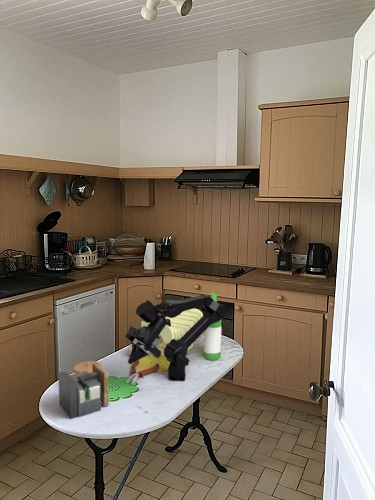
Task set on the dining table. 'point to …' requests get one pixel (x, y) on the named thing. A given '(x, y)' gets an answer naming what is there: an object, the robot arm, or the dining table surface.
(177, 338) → the slatted curved stool
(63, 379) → the grey notched block
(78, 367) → the lidded jar
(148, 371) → the pliers
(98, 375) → the wooden slab
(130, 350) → the garlic
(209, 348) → the wine bottle
